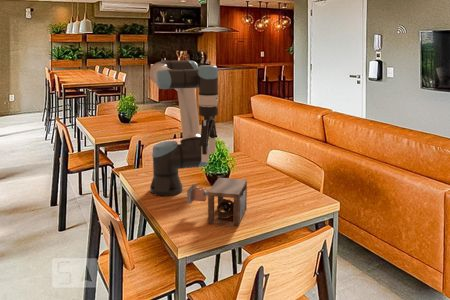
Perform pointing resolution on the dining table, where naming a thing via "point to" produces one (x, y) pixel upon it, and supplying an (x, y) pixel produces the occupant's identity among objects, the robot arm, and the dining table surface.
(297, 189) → the dining table surface
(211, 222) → the walnut stool
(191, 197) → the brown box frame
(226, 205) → the pottery mug
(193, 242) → the dining table surface
